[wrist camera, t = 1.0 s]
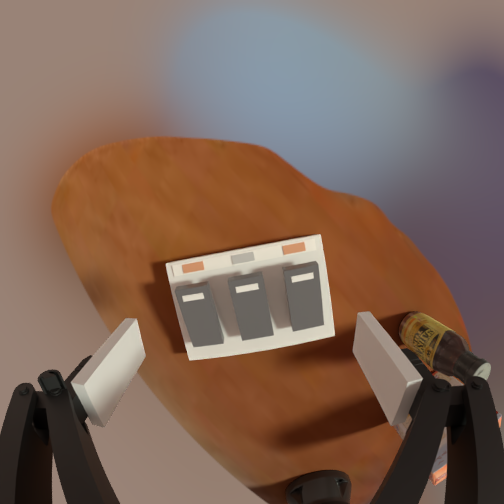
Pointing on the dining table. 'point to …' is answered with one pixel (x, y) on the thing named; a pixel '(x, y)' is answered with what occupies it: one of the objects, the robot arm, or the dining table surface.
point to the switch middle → (251, 305)
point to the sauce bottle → (441, 347)
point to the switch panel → (270, 263)
